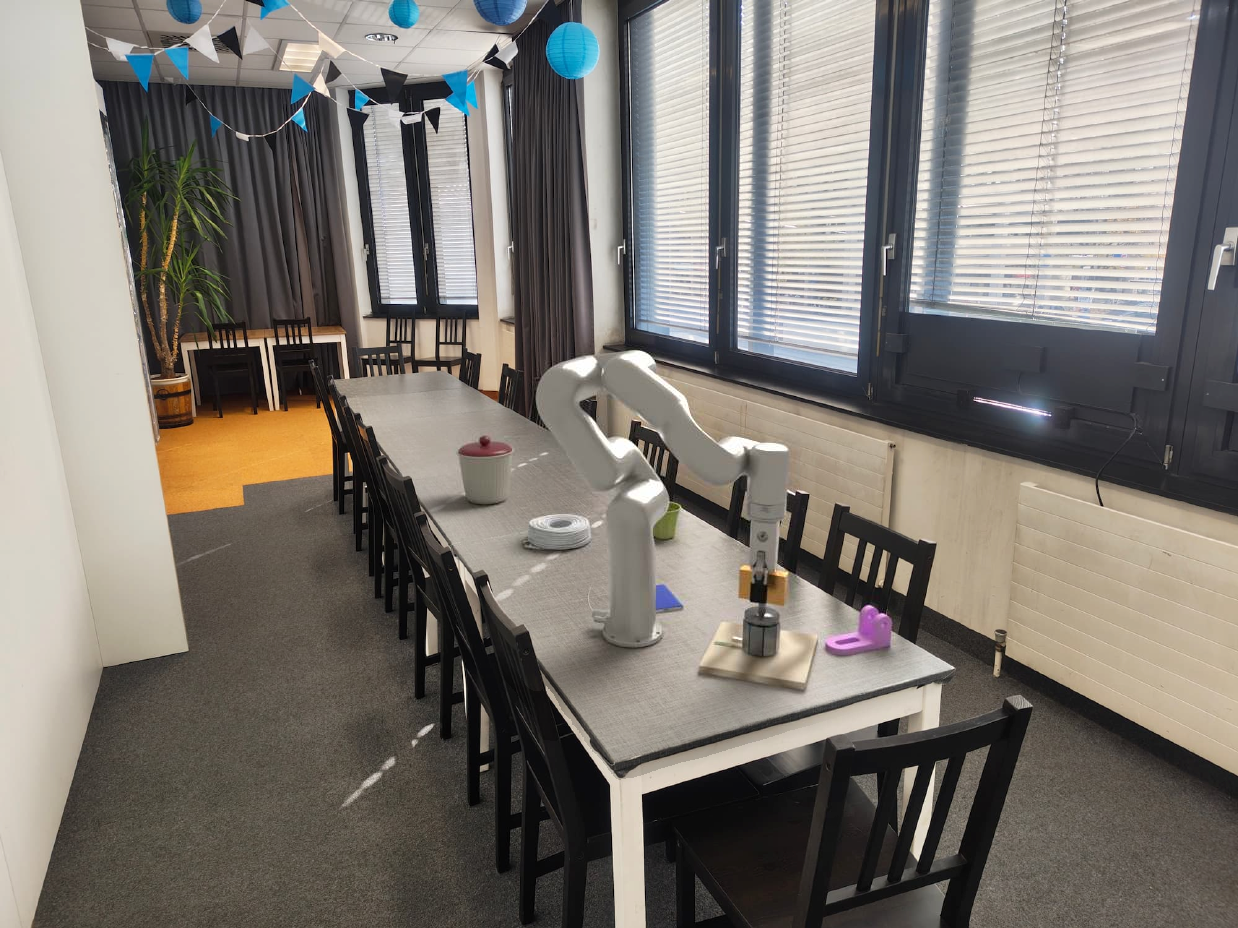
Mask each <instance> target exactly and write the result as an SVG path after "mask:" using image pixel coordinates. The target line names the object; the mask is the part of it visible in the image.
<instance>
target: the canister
mask: <svg viewBox="0 0 1238 928" xmlns="http://www.w3.org/2000/svg"><path fill="white" fill-rule="evenodd" d="M514 451H515V448H514V447H513V446H511V445H509V444H508V443H505V442H501V441H491V438H490V436H489V435H481V436H480V437H479V440H478V441H476V442H470V443H467V444H464V445H462V446H461V447H459V448H458V449H457V450H456V451H455V454H456V455H457V456H458V461H459V467H460V472H461V479H462V484H463V489H464V493H465V497H466V498H467V500H468V501H469V502H471V503H472V504H475V505H476V504H477V505H494V504H498V503H501V502H504V501H505V500H506V499H507V498H508V496H509V494H510V487H511V485H510V484H511V478H512V477H511V476H512V475H511V474H512V465H513V463H512V461H513V453H514Z"/></svg>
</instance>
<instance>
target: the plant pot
mask: <svg viewBox="0 0 1238 928" xmlns="http://www.w3.org/2000/svg"><path fill="white" fill-rule="evenodd" d="M681 510H682V506H681V504H679V503H677V502H673V501H669V507H668V510H667V512H666V513H665V515H664V516H663V517H662V518H661V519H660V520H659V521H658V522H657V523H656V524H655V525H654V526H653V538H654V537H655V538H656V539H659V540H668V539H671V538H674V537H676V529H677V522H678V518H679V514H680V511H681Z"/></svg>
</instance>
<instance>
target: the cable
mask: <svg viewBox="0 0 1238 928" xmlns="http://www.w3.org/2000/svg"><path fill="white" fill-rule="evenodd" d="M591 536H592V535H591V528H590V521H589V520H588V518H586V517H584V516H581V515H577V514H570V513H569V514H568V513H567V514H565V513H564V514H562V513H559V514H557V513H556V514H549V515H544V516H539V517H536V518H533V519H531V520H530V521H528V530H527V540H524V541H522V544H523V545H524V546H523V547H524V548H526V549H529V548H532V550H555V551H556V550H557V551H558V550H559V551H560V550H570V549H571V548H572V549H576V548H581V547H583V546H585V545H587V544H588V543H589V542H590V540H591ZM541 548H543V549H541Z"/></svg>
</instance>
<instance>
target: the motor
mask: <svg viewBox="0 0 1238 928" xmlns="http://www.w3.org/2000/svg"><path fill="white" fill-rule="evenodd" d="M738 570H739V577H738V578H739V579H738V599H744V600H749V601H750V585H751V582H752V574H753V570H752V569H751V568H750V565H746V564H743V565H742V566H741V567H740V568H739V569H738ZM763 574H765V572H763ZM789 575H790V573H789V571H782V570H777V569H776V571H775V572H772V571H769V570H768V574H767V583H768V591H767V603H766V604H761V603H758V606H752V607H748V608H747V609H745V610H744V612H743V613H744V614H743V618H742V625H743V637H742V638H739V637H734V636H733V638H732V642H736V643H740V644H742V648H743V649H744V650H745V651H746V652H747V653H749V654H752V655H757V656H763V657H764V656H769V655H775V654H776V653H777V651H778V650H779V643H780V630H781V619H780V618H781V617H780V616H781V614H780V612H779V611H778V610H776V609H774V608H772V607H768V606H767V604H771V605H776V606H782V607H784V606H785V605H786V604H787V602H788V594H789V593H788V592H789V589H788V588H789Z"/></svg>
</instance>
